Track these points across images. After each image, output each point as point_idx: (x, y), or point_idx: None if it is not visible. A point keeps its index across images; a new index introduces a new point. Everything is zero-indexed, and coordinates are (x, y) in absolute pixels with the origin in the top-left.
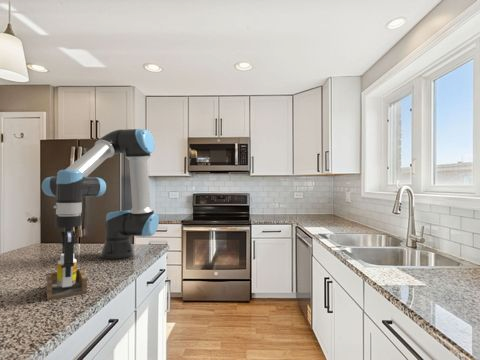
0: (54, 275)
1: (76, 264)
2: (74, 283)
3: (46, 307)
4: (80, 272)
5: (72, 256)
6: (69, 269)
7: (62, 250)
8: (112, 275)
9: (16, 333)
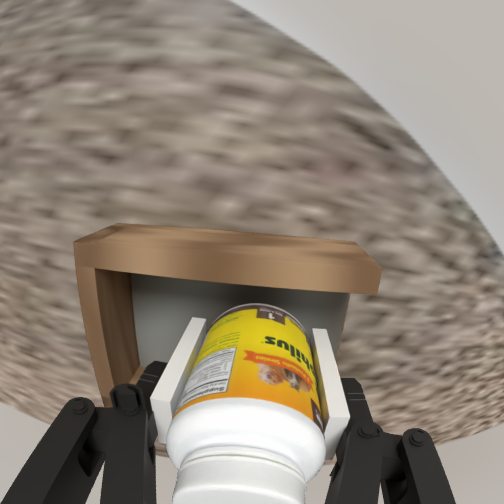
0: (119, 381)
1: (269, 380)
2: (286, 312)
3: (395, 391)
4: (169, 274)
5: (447, 492)
6: (367, 420)
7: (82, 496)
8: (109, 55)
9: (483, 420)
